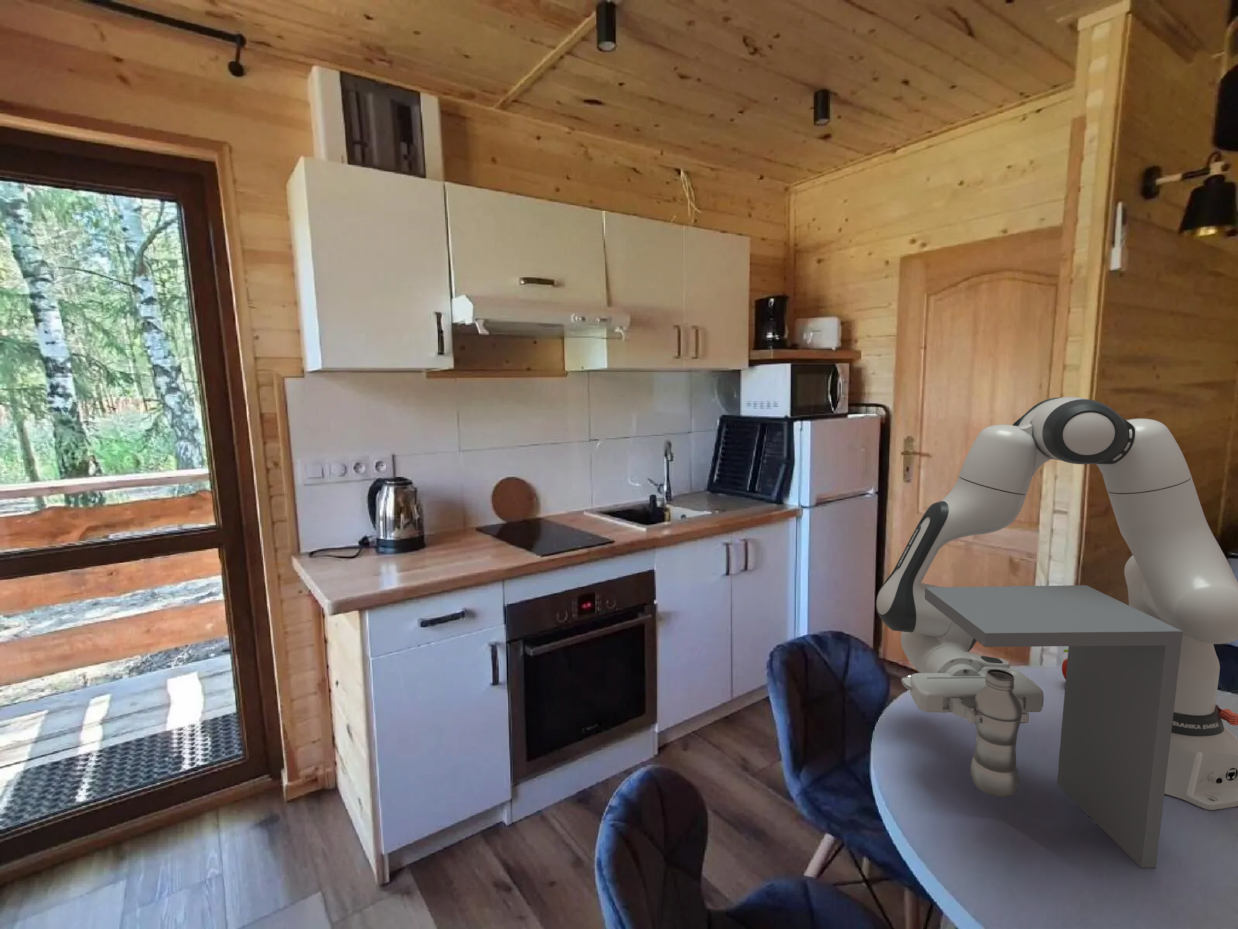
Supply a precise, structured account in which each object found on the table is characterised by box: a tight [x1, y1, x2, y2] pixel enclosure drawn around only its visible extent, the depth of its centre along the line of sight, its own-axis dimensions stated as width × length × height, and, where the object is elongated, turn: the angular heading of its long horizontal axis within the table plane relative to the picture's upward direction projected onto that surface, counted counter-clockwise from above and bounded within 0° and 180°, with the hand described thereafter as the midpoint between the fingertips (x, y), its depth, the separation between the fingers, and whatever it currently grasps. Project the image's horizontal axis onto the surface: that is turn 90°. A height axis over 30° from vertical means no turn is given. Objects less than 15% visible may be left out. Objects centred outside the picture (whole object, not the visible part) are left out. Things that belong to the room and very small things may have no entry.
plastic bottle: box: [970, 669, 1023, 798], centre depth 96 cm, size 6×7×20 cm
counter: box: [925, 584, 1183, 869], centre depth 94 cm, size 26×18×36 cm
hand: (1000, 719), depth 95 cm, fingers closed on plastic bottle, 6 cm apart
